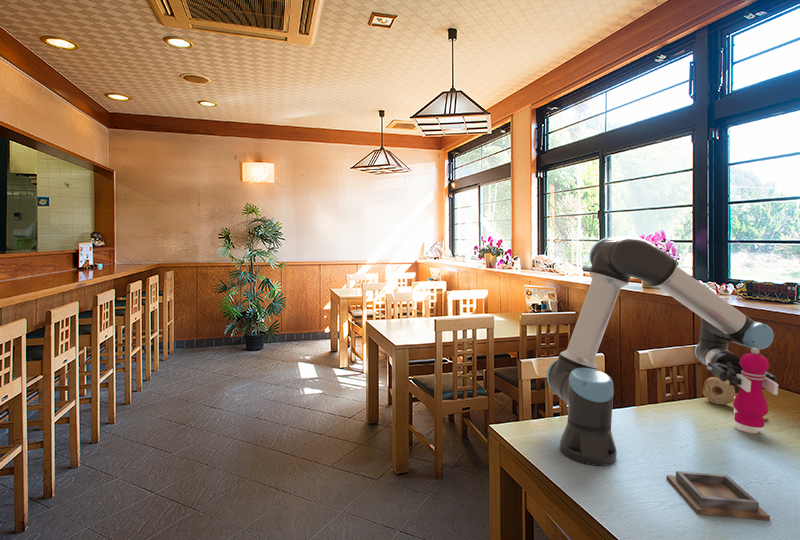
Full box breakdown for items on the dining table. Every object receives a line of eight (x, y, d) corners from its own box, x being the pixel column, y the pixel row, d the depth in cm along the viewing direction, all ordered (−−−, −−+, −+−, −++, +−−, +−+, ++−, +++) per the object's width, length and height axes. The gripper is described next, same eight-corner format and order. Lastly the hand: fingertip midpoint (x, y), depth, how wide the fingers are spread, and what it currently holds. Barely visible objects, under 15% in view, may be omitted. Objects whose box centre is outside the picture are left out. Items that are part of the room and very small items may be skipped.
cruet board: (697, 513, 101) (698, 501, 101) (666, 478, 116) (667, 467, 116) (769, 520, 99) (770, 507, 99) (728, 483, 114) (729, 472, 114)
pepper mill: (732, 415, 122) (738, 343, 120) (766, 422, 117) (773, 347, 116) (731, 423, 116) (737, 347, 115) (766, 431, 112) (773, 352, 110)
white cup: (767, 435, 143) (769, 405, 143) (739, 433, 145) (741, 403, 144) (753, 425, 151) (755, 396, 150) (727, 423, 153) (729, 394, 152)
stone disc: (700, 400, 174) (702, 375, 174) (703, 398, 177) (705, 373, 176) (732, 408, 166) (734, 382, 165) (735, 406, 169) (737, 380, 168)
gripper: (759, 379, 131) (805, 407, 109) (689, 372, 136) (719, 398, 114) (761, 354, 130) (808, 377, 108) (691, 348, 136) (721, 369, 113)
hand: (762, 388), depth 111 cm, fingers closed on pepper mill, 5 cm apart
